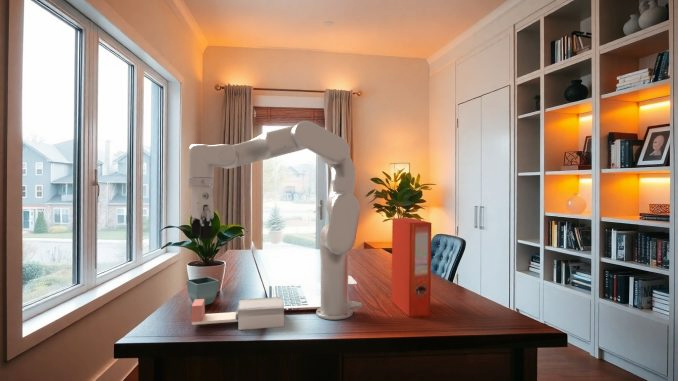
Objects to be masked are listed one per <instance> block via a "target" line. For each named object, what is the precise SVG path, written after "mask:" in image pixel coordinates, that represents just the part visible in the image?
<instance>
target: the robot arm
mask: <svg viewBox="0 0 678 381" xmlns="http://www.w3.org/2000/svg"><path fill="white" fill-rule="evenodd" d="M306 149H307V150H308V151H310V152H312V153H314V154H316V155H318V156H320V159H321V160H322V161H323V162H324V163H325V164H326V165H327V166H328V168H329V170H330V183H329V190H328V196H327V199H326V200H327V201H326V205H325V206H326V212H327V214H328V215H329V221H328V223H327V224H325V225H324V226H323V227H322V228H321V230H320V233H319V238H318V240H319V250H320V307H318V308H317V309H316V312H315V313H316V316H318V317H319V318H321V319H324V320H331V321H332V320H333V321H335V320H344V319H348V318H350V317H352V316H353V313H354V312H353V309H361V308H363V304H362V301H361V302H360V301H356V300H353V301H350V300H349V285H348V276H349V254H348V253H349V252H350V251H351V250H352V249H354V248H353V247H354V245H355V242H356V240H357V239H356V238H357V233H358V225H359V220H360V219H359V218H360V211H361V209H360V208H361V206H360V202H359V200H358V198H357V197H356V196H355V195H354V193H355V186H356V185H355V184H356V168H355V165H354V164H355V163H354V162H353V160H352V158H351V156H350V153H351V148H350V145H349V143H348V142H347V140H345V139H344V138H342V136H339V135H337V134H335V133H333V132H332V131H329V130H327V129H326V128H325V127H323V126H320V125H318V124H317V123H315V122H313V121H310V120H302V121H299V122H298V123H297V124H295V125H292V126H287V127H284V128H281V129H276V130H272V131H266V132H264V133H262V134H260V135H258V136H257V137H254V138H253V139H250V140H247V141H243V142H239V143H237V144H232V145H231V144H227V143H224V144H223V143H222V144H221V143H220V144H211V145H209V144H202V143H201V144H199V143H198V144H197V143H196V144H195V143H194V144H190V146H189V149H188V189H191V191H190V192H191V193H190V217H191V220H190V222H191V224H190V225H191V227H190V228H191V232H190V233H191V236H199V239H200V240H206V239H207V240H208V239H211V236H212V222H211V221H212V220H213V219H214V217H215V214H214V213H215V209H214V208H215V207H214V206H215V205H214V194H213V192H214V191H213V189H214V181H215V179H214V176H215V175H214V172H215V169H214V168H215V167H218V168H222V169H227V170H229V169H234V168H236V167H241V166H245V165H248V164H249V165H250V164H252V163H255V162H259V161H264V160H265V161H266V160H269V159H273V158H277V157H280V156H285V155H288V154H291V153H295V152H300V151H303V150H306Z"/></svg>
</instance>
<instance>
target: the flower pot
mask: <svg viewBox="0 0 678 381" xmlns="http://www.w3.org/2000/svg"><path fill="white" fill-rule="evenodd" d="M218 287H219V279H216V278H213V277H211V276H203V277H198V278H193V279H187V280H186V289H187V294H188V297H189V299H190V301H191V302H192V303H193V302H194V300H195V299H205V306H207V305H210V304H211V305H212V303H213V302H214V300H215V299H216V297H217V294H218V290H219V288H218Z"/></svg>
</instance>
